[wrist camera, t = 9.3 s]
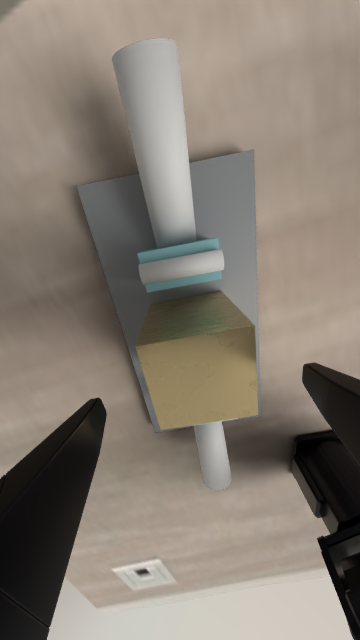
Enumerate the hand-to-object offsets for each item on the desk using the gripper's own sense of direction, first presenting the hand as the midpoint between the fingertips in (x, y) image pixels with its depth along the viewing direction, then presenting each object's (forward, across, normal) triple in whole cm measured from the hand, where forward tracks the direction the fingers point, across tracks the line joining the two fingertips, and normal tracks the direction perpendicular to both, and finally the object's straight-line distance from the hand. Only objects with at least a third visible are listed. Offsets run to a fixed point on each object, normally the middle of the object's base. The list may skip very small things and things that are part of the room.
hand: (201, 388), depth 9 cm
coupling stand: (+7, 0, 0) cm, 7 cm away
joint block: (+6, 0, 0) cm, 6 cm away
